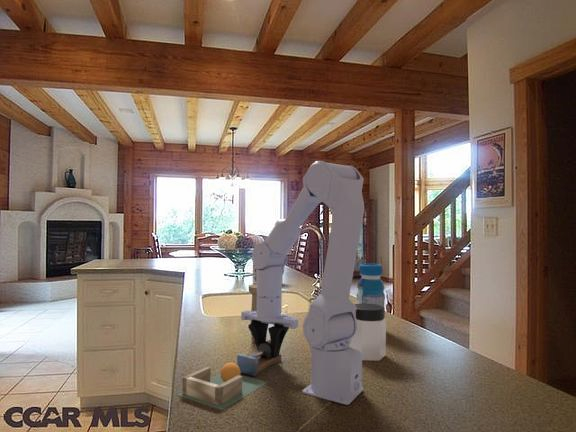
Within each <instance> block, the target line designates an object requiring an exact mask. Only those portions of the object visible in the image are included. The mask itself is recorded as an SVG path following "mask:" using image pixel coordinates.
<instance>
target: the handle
mask: <svg viewBox="0 0 576 432" xmlns="http://www.w3.org/2000/svg"><path fill="white" fill-rule="evenodd" d="M248 292H249V293H250V294H251V310H250V311H257V284H249V285H248ZM251 322H252V321H250V323H251ZM250 336H251V338H250V339H251V342H252V343H255V340H254V338H253V335H252V333H251V332H250Z"/></svg>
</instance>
